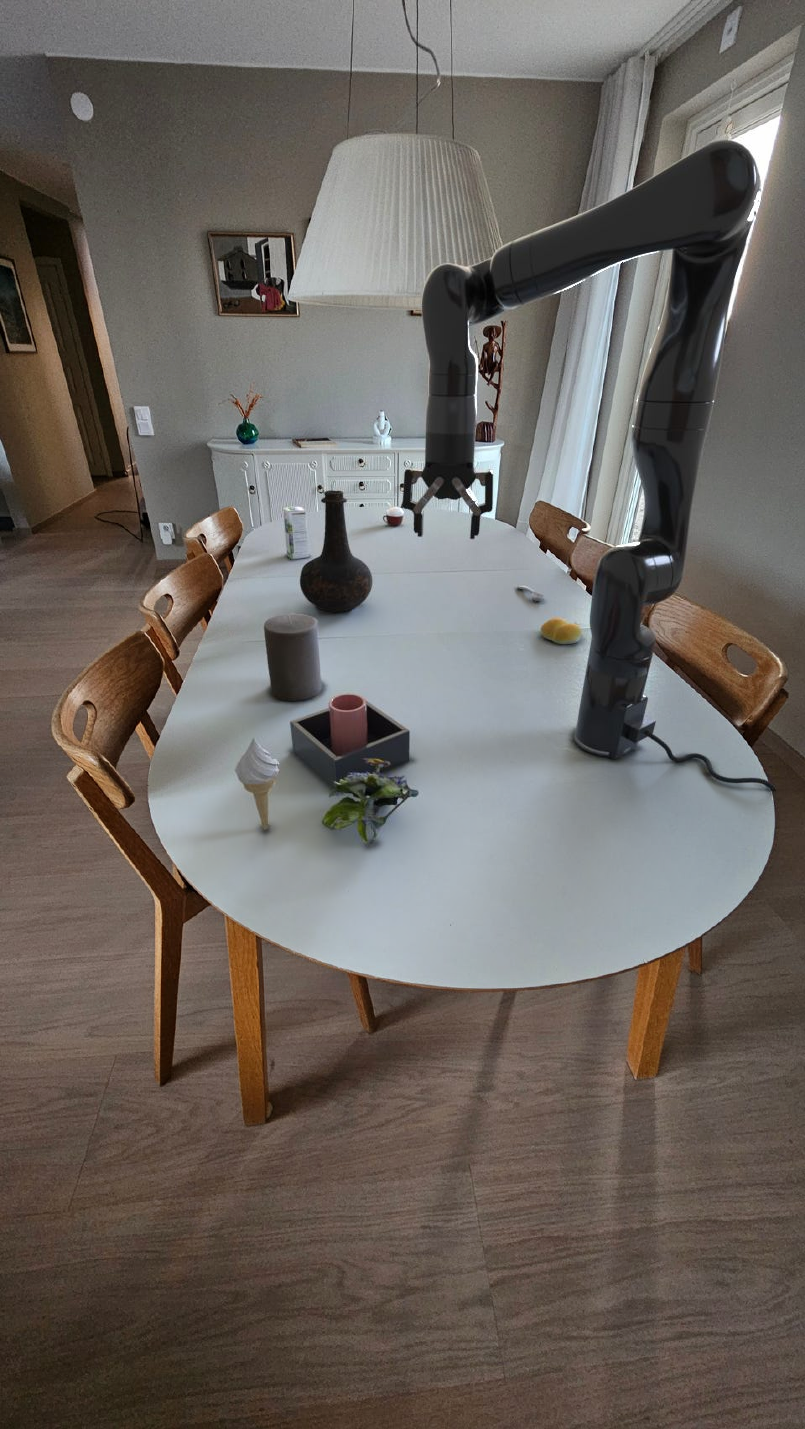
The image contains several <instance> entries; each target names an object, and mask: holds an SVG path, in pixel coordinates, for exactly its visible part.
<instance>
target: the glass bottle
mask: <svg viewBox="0 0 805 1429" xmlns="http://www.w3.org/2000/svg"><path fill="white" fill-rule="evenodd" d="M323 494H324V497H322V498H321V499H320V502H321V503H322V504H324V537H323V538H324V539H323V546H322V550H321V553H320V555H319V556H317V557H315V558H313V559H311V560H309V561H307V562H306V563H305V564H304V565H303V566H302V568H301V571H300V575H299V576H300V577H299V587H300V590H301V592H302V594H303V596H304V597H305V598H306V600H307V601H308V602H309V603H310V604H312V606H314V607H316V608H318V609H320V610H322V611H326V612H331V613H342V612H343V613H344V612H348V611H352V610H354V609H356V608H357V607H360V605H362V604H363V603H364V602H365V601H366V599H367V598H368V597H369V595H370V593H371V591H372V588H373V582H374V581H373V575H372V572H371V570H370V567H369V566H368V565H367V564H366V563H365V562H363V560H361V559H360V558H358V557H356V556H354V555H353V554H352V551H351V547H350V544H349V540H348V533H347V524H346V516H345V504H346V503H347V502H348V499H347V498H345V497H344V491H342V490H331V489H330V490H326V491H324V492H323Z"/></svg>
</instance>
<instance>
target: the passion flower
mask: <svg viewBox="0 0 805 1429" xmlns="http://www.w3.org/2000/svg"><path fill="white" fill-rule="evenodd" d="M363 762H365V763H367V764H368V765H375V767H376V772H375V773H374V772H373V774H369V772H366V773H367V774H365V773H362V774H361V773H357V772H356V773H355V772H353V773H350V772H349V774H350V775H347V777H346V778H344V779H345V780H346V781H344V780H342V779H340V784H339V783H337V782H334V785H335V786H336V788H335V789H334V788H333V789H332V790H331V791H330V792H329V794H328V798H329V799H330V798H332V797H334V796H339V795H344V794H348V795H352V796H353V798H352V797H350V796H348V795H347V796H344V797H342V798H341V799H340V800H339V801H338V802H336V803H335V804H333V805H332V806H331V807H330V808H329V810H327V811H326V813H325V814H324V816H323V818H322V819H321V824H322V825H324V826H325V827H328V828H329V829H330V830H332V831H338V830H342V829H343V828H346V827H349V826H350V825H352V824H355V823H357V825H356V828H357V831H358V834H359V836H360V838H361V839H362V840H363V841H364V842H365V843H368V841H369V838H368V833H367V826H368V823H370V829H371V830H372V832H373V835H372V839H371V841H370V843H369V845H373V844H374V842H375V840H376V838H377V835H378V833H379V831H380V830H381V828H382V827H383V826H384V825H385V824H386V823H387V819H388V818H389V817H390V816H391V815H392V814H393V813H394V812H395V811H396V810H397V809H398V808H399V807H400V806H401V805H402V804H404V803H405V802H406V801H407V800H408V798H411V797H412V798H416V797H418V796H419V795H420V793H419V790H418V789H414V788H410V787H409V785H408V780H407V779H403V778H405V775H398V776H397V775H390V776H388V775H385V774H383V773H379V769H380V768H382V767H388V766H390V763H389V762H388V761H385V760H379V759H372V758H364V759H363ZM354 798H356V799H359V800H355V799H354ZM399 799H401V801H400V802H399V803H398V800H399ZM372 804H373V812H371V810H370V806H371V805H372ZM384 806H393V808H392V809H391V810H390V811H389V812H388V813H386V815H384V816H378V814H377V809H376V807H378V808H382V807H384ZM367 816H370V817H372V819H369V818H368V817H367Z"/></svg>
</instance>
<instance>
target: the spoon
mask: <svg viewBox="0 0 805 1429" xmlns="http://www.w3.org/2000/svg"><path fill="white" fill-rule="evenodd" d="M517 589H518V590H524V591H527V592H529V593H530V594H531V596H530V597H531V599H532V600H533V601H536V602H542V601H544V599H545V596H544V594H540V593H537V592H536V591H535V590H534V589H533V588H531V587H529V586H527V585H518V586H517Z"/></svg>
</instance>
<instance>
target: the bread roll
mask: <svg viewBox="0 0 805 1429" xmlns="http://www.w3.org/2000/svg"><path fill="white" fill-rule="evenodd" d="M582 632H583V631H582V628H581V627H580V626H579V625H577V624H576V623H572V622H571V623H570V622H568V621H567V620H565V619H564V618H561V617H553V618H550V619H548V620H547V621H546V622H544V623H543V624H542V625H541V626H540V633H541V635H542V636H543V638H545V639H546V640H549V641H552V642H554V643H556V644H558V645H572V644H575V643H578V642H579V641H580V640H581V638H582V634H583V633H582Z"/></svg>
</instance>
